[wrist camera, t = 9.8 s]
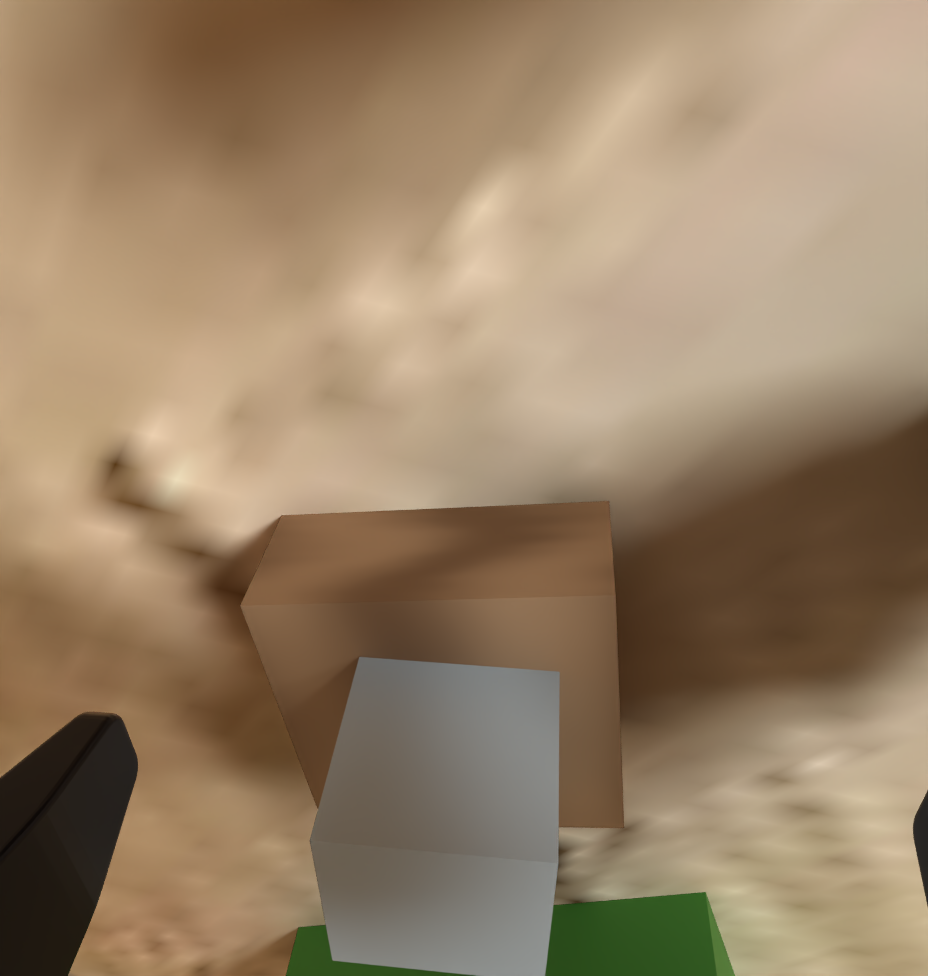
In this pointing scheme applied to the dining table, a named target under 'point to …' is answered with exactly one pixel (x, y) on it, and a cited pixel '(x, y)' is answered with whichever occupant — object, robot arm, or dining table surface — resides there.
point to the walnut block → (448, 621)
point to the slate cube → (442, 819)
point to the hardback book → (581, 942)
